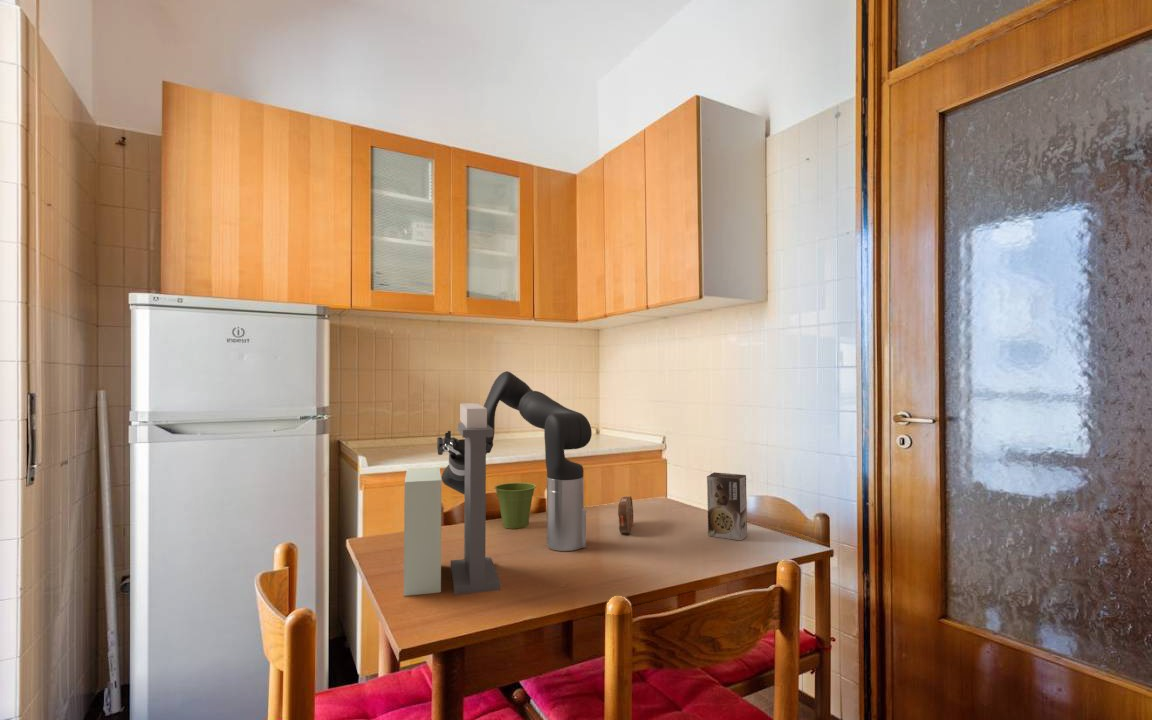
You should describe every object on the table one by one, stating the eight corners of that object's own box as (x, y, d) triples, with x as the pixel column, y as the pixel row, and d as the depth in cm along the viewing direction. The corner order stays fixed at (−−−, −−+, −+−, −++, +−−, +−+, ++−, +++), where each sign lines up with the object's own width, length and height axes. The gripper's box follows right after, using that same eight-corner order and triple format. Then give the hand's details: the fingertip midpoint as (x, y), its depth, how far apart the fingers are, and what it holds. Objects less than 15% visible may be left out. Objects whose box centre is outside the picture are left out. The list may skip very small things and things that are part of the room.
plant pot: (536, 520, 162) (536, 481, 163) (535, 531, 151) (535, 490, 151) (496, 520, 162) (496, 482, 162) (492, 532, 150) (492, 490, 150)
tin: (628, 537, 145) (628, 505, 145) (616, 536, 146) (616, 505, 146) (634, 522, 160) (634, 493, 160) (623, 522, 160) (623, 493, 161)
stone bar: (476, 419, 134) (476, 403, 134) (486, 428, 112) (486, 408, 113) (460, 420, 133) (460, 403, 133) (467, 428, 111) (467, 408, 111)
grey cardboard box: (748, 535, 147) (747, 474, 147) (741, 541, 141) (740, 478, 142) (714, 530, 152) (714, 471, 152) (706, 535, 146) (706, 475, 147)
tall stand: (491, 563, 125) (491, 422, 126) (500, 589, 109) (500, 429, 110) (450, 567, 122) (451, 423, 123) (454, 594, 107) (455, 430, 108)
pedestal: (438, 565, 124) (439, 467, 124) (440, 592, 108) (441, 480, 109) (406, 568, 122) (407, 468, 122) (403, 596, 106) (404, 482, 107)
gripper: (436, 446, 152) (437, 420, 138) (488, 444, 155) (494, 419, 142) (436, 472, 148) (437, 448, 135) (489, 469, 152) (495, 446, 138)
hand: (466, 433), depth 138 cm, fingers open, 8 cm apart
